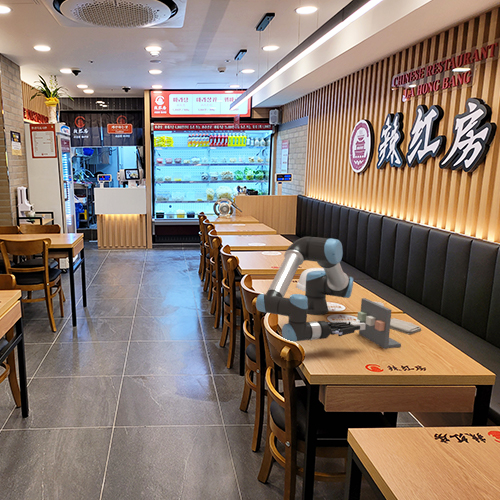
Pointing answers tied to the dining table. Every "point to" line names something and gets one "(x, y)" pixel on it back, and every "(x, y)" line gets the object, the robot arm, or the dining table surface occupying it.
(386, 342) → the button panel
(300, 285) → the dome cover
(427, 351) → the dining table surface
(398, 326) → the washcloth
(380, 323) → the terracotta button
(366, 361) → the dining table surface
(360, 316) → the sage button
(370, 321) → the ivory button
